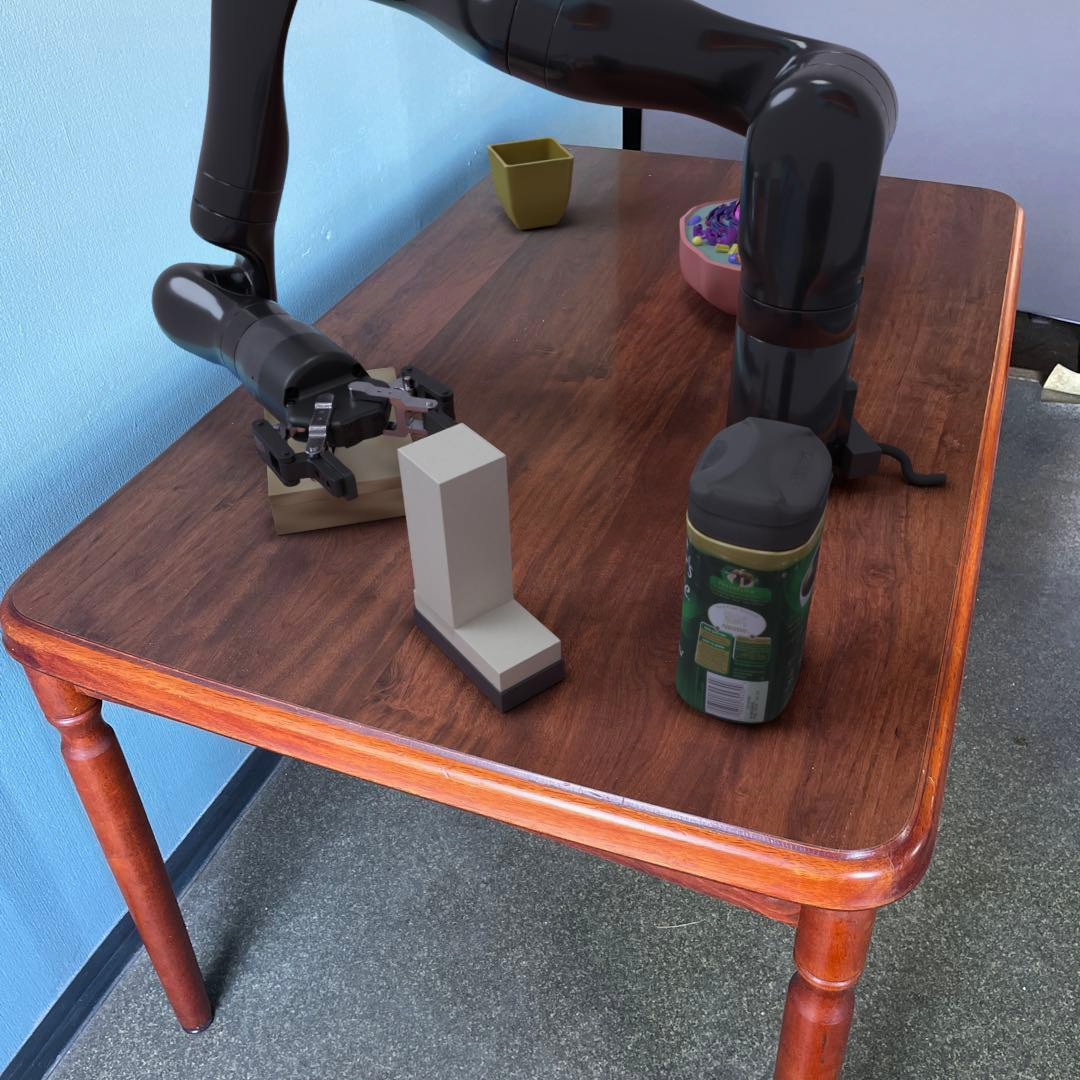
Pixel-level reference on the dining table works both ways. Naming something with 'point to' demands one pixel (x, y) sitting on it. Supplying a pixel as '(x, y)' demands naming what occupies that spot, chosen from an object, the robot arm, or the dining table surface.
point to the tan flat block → (374, 482)
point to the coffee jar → (750, 567)
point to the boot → (472, 567)
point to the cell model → (712, 252)
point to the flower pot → (532, 180)
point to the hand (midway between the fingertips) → (407, 466)
